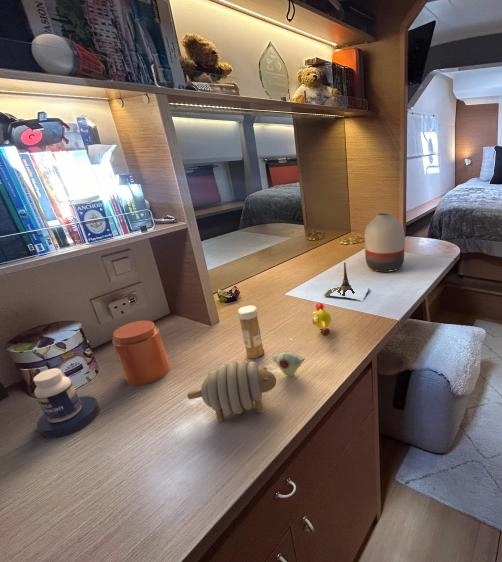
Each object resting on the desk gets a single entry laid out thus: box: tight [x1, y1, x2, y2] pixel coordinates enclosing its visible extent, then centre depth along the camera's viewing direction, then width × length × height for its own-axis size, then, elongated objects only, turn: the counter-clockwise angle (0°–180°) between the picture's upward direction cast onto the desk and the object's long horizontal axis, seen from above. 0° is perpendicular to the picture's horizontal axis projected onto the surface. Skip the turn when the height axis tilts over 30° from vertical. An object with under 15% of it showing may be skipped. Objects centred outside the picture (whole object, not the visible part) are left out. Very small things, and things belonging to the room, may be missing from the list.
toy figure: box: [311, 302, 332, 337], centre depth 99 cm, size 18×6×7 cm, turn 14°
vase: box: [364, 212, 406, 272], centre depth 145 cm, size 17×17×24 cm
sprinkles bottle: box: [237, 305, 265, 359], centre depth 88 cm, size 5×4×13 cm
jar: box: [111, 320, 171, 386], centre depth 81 cm, size 9×9×13 cm
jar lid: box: [36, 395, 101, 439], centre depth 70 cm, size 10×10×2 cm
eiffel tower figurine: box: [323, 259, 355, 297], centre depth 122 cm, size 15×10×13 cm
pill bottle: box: [32, 368, 82, 423], centre depth 67 cm, size 5×5×10 cm
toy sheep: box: [187, 360, 277, 423], centre depth 69 cm, size 11×17×11 cm, turn 112°
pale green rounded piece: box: [272, 351, 306, 376], centre depth 80 cm, size 8×4×7 cm, turn 78°
